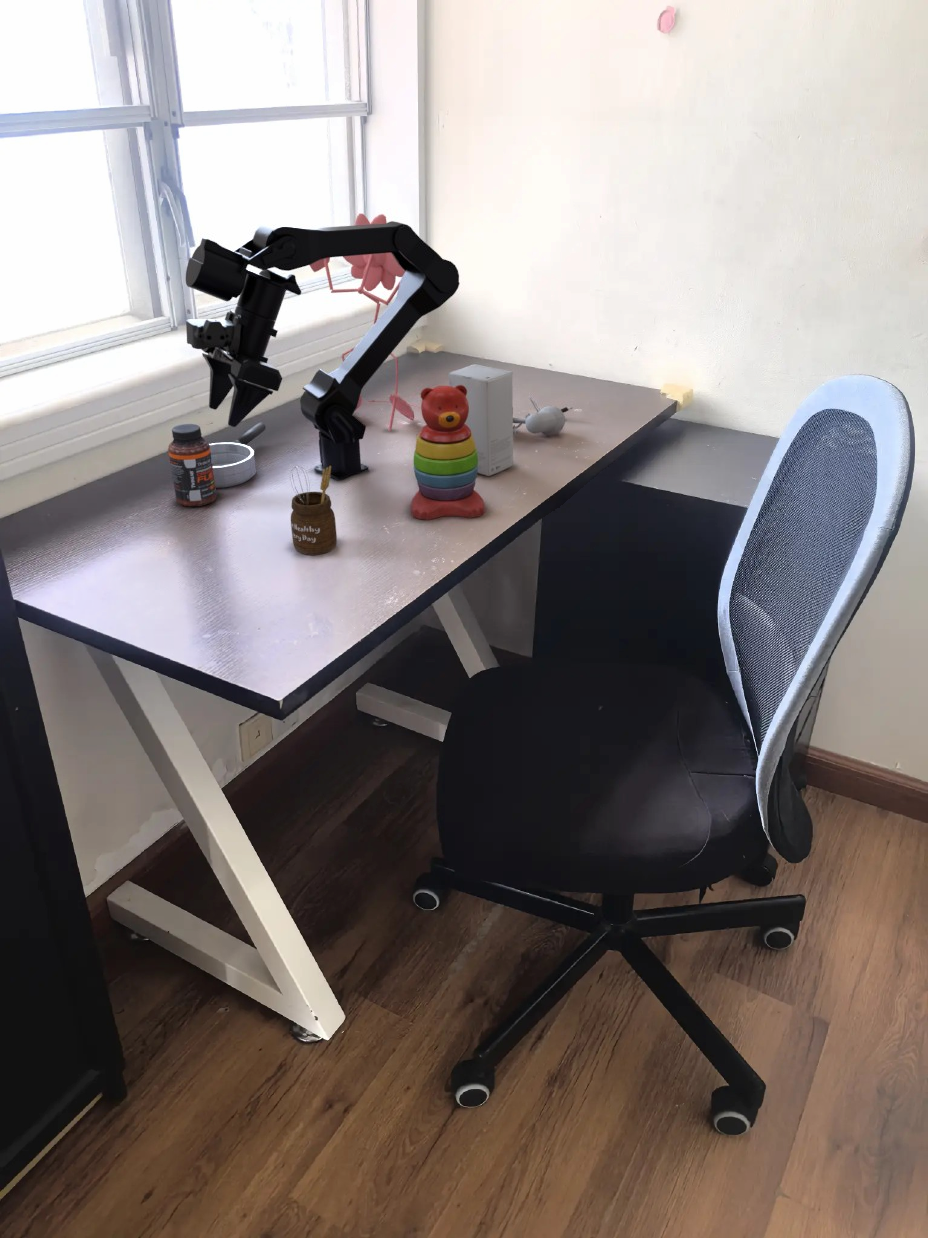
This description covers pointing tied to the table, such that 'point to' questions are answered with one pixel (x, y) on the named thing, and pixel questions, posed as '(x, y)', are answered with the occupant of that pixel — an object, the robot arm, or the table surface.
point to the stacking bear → (445, 457)
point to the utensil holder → (313, 519)
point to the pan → (232, 464)
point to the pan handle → (248, 436)
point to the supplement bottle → (191, 466)
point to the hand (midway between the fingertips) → (221, 417)
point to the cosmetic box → (488, 414)
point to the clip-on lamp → (543, 420)
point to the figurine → (372, 273)
